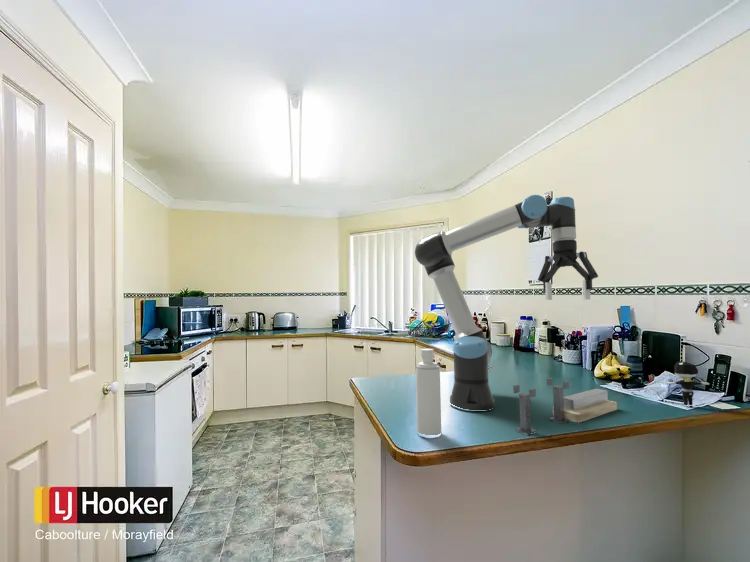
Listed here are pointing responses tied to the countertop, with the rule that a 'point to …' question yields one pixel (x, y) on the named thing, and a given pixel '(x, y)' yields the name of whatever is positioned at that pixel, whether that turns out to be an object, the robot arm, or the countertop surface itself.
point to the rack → (525, 406)
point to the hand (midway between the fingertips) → (567, 299)
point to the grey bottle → (428, 394)
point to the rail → (585, 399)
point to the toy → (686, 379)
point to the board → (590, 411)
